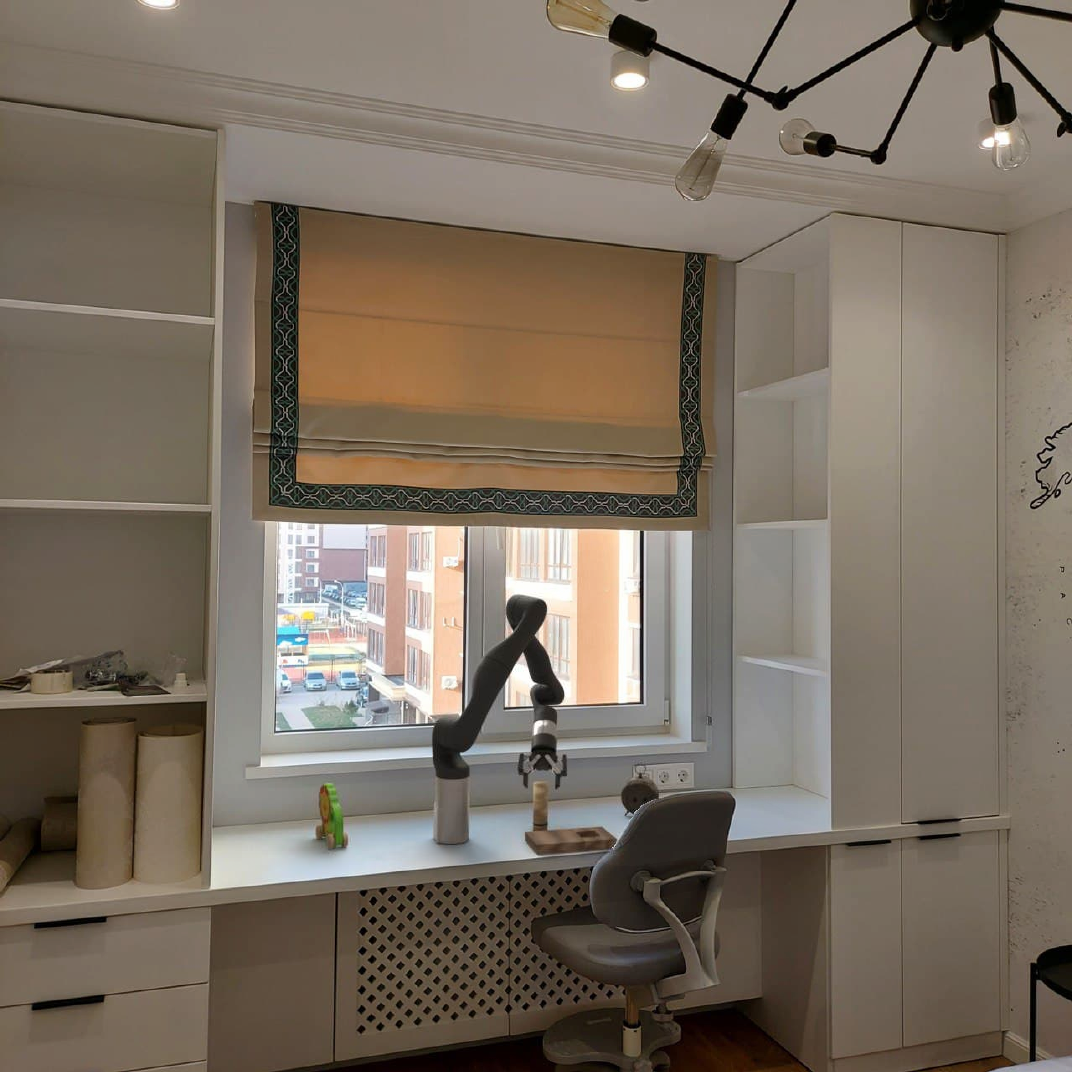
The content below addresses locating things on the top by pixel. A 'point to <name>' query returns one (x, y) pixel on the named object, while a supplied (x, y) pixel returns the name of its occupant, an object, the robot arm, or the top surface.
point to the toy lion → (331, 818)
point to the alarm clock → (638, 792)
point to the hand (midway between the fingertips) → (541, 787)
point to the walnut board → (570, 840)
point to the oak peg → (540, 806)
